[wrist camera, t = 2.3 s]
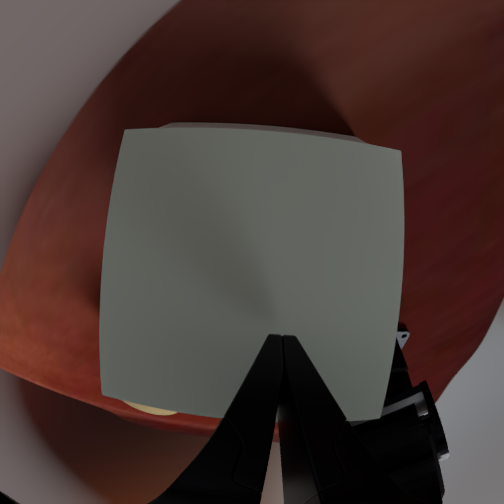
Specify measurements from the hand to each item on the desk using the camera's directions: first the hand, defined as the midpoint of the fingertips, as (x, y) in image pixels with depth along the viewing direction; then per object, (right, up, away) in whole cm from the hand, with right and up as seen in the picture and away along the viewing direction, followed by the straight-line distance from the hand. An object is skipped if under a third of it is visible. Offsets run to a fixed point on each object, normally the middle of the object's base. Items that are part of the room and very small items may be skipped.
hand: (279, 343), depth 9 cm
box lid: (-1, +2, +1) cm, 3 cm away
